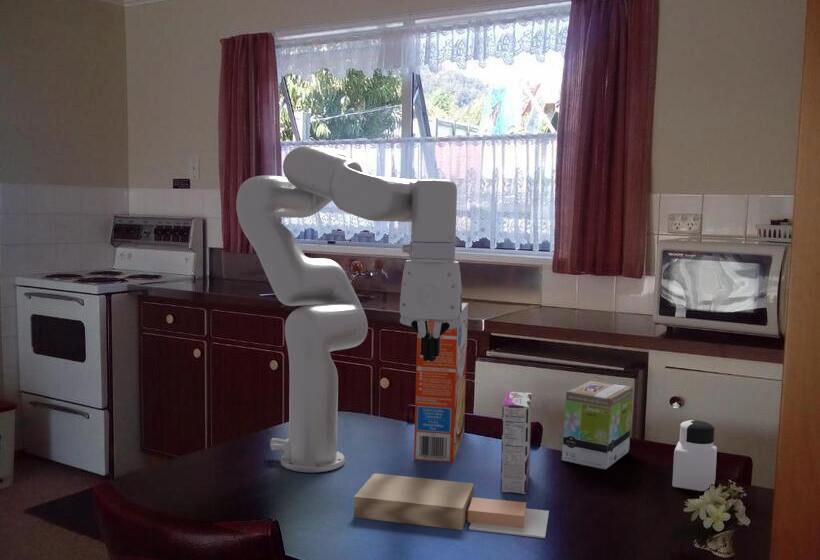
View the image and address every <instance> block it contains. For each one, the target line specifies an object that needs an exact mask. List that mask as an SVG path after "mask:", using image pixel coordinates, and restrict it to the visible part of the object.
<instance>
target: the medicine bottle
mask: <svg viewBox="0 0 820 560" xmlns="http://www.w3.org/2000/svg"><path fill="white" fill-rule="evenodd" d="M679 428H680V429H679V441H678V442H677V444H676V446H675V448H674V451H673V464H672V465H673V466H672V483H671V484H672V487H673V488H679V489H684V490H690V491H691V490H692V491H698V492H703V491H705V490H706V489H708V488H709V486H710V485H711V484H713V485H714V486H715V483H716V476H717V475H716V472H717V470H716V469H717V454H718V453H717V452H718V447H717V446H716V445H714V442H715V441H714V440H715V427H714V426H713V425H712V424H710V423H708V422H706V421H703V420H694V419H693V420H692V419H690V420H685V421H683V422H681V423H680V424H679Z"/></svg>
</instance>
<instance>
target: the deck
mask: <svg viewBox="0 0 820 560" xmlns="http://www.w3.org/2000/svg"><path fill="white" fill-rule="evenodd" d="M474 491H475V483H473V482H472V483H471V482H462V481H461V482H460V481H453V480H443V479H434V478H433V479H432V478H424V477H416V476H415V477H414V476H406V475H405V476H404V475H393V474H385V473H375V472H374V473H372V475H371V476H370V478H369V479H368V480H367V481H366V482H365V484H363V485H362V487H361V488H360V489H359V490H358V492H357V493H356V494H355V495H354V496H353V518H355V519H356V518H357V519H364V520H365V519H366V520H374V521H381V522H382V521H384V522H392V523H398V524H408V525H416V526H417V525H418V526H426V527H433V528H434V527H435V528H442V529H451V530H459V531H462V530H463V529H464V526H465V524H466V522H467V520H468V509H469V506H470V503H471V500H472V497H475V495H474V494H475V492H474Z"/></svg>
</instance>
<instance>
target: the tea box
mask: <svg viewBox="0 0 820 560" xmlns="http://www.w3.org/2000/svg"><path fill="white" fill-rule="evenodd" d="M633 390H634V387H633V386H629V385H622V384H615V383H609V382H604V381H596V380H589V381H587V382H585V383H582V384H580V385H578V386H576V387H573V388H571V389H569V390H567V391H566V392H565V394H566V396H565V409H564V419H563V420H564V423H563V441H562V448H561V449H562V451H561V453H562V454H561V461H564V462H569V463H573V464H576V465H577V464H578V465H581V466H587V467H592V468H596V469H602V470H607V469H608V468H609V467H611V466H612V465H613V464H615V463H616V462H617V461H619V460H620V459H621V458H622V457H624V456H625V455H626V454H628V453H629V452H630V451H629V450H630V438H631V424H632V412H633V411H632V410H633V409H632V408H633V395H634V391H633Z"/></svg>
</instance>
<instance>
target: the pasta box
mask: <svg viewBox="0 0 820 560" xmlns="http://www.w3.org/2000/svg"><path fill="white" fill-rule="evenodd" d="M468 315H469V303H468V302H462V312H461V318H462V323H463V324H462V326H460V327H457V328H452V329H448V330H446V331H445V332H444V333H443V334H442V335H441V336H440V353H439V356H436V359H435V360H434V361H433V362H432V361H429V360H428V361H424V355H421V337H420V336H419V334H418V333H417V332H416V358H415V359H416V364H415V366H416V367H415V370H416V372H415V400H414V401H415V402H414V403H415V405H414V407H415V409H414V435H413V436H414V440H413V443H414V444H413V461H422V460H426V462H435V461H437V462H439V463H448V464H449V463H451V464H453V463H454V462H455V459H456V456H457V454H456V453H458V451H457V450H459V448H458V447H460V445H461V443H462V439H463V436H464V434H463V433H465V419H466V418H465V417H466V416H465V413H466V410H465V409H466V387H467V386H466V383H467V382H466V380H467V379H466V378H467V350H468V349H467V347H468V324H469V323H468V318H469V317H468ZM445 322H448V321H445ZM445 322H444V323H445ZM434 323H435V321H429V320H428V328H429V332H430V335H431V334H432V333H433V329H434ZM461 438H462V439H461ZM459 444H460V445H459Z"/></svg>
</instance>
